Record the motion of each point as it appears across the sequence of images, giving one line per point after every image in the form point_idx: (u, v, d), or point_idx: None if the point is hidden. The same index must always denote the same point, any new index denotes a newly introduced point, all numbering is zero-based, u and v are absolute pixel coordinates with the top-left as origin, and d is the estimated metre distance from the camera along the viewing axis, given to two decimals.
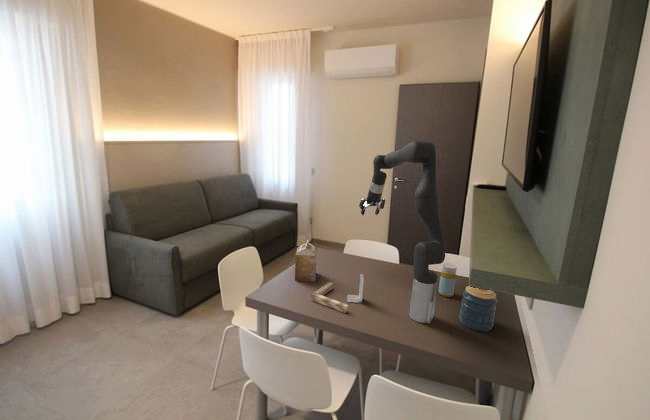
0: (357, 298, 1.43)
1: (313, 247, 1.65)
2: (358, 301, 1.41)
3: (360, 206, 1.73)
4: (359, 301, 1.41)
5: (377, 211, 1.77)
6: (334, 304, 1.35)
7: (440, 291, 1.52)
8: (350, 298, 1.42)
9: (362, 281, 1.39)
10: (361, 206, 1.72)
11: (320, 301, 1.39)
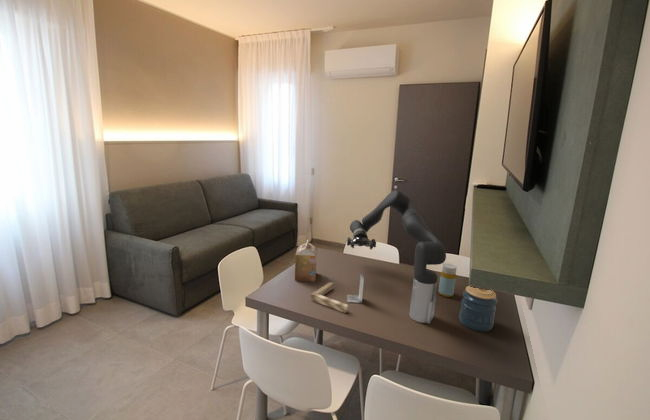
0: (357, 298, 1.43)
1: (313, 247, 1.65)
2: (358, 301, 1.41)
3: None
4: (359, 301, 1.41)
5: (370, 243, 1.52)
6: (334, 304, 1.35)
7: (440, 291, 1.52)
8: (350, 298, 1.42)
9: (362, 281, 1.39)
10: (348, 239, 1.56)
11: (320, 301, 1.39)
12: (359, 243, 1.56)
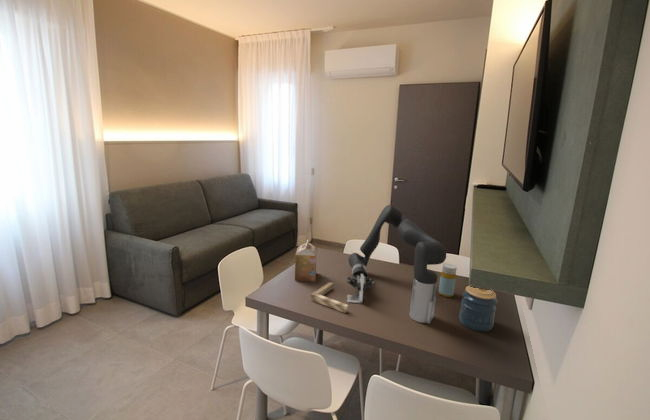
0: (357, 298, 1.43)
1: (313, 247, 1.65)
2: (358, 301, 1.41)
3: None
4: (359, 301, 1.41)
5: None
6: (334, 304, 1.35)
7: (440, 291, 1.52)
8: (350, 298, 1.42)
9: (362, 281, 1.39)
10: (352, 280, 1.45)
11: (320, 301, 1.39)
12: None
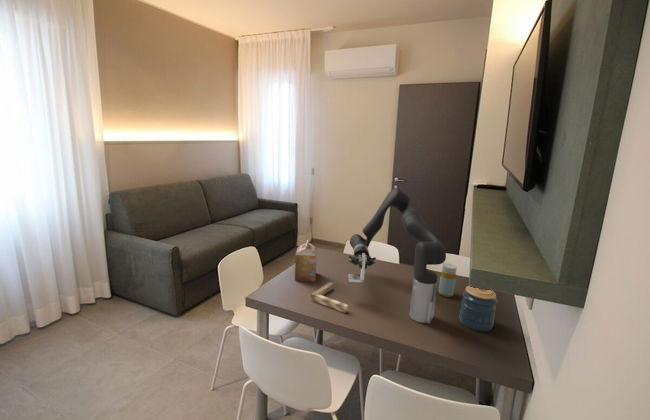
0: (359, 277, 1.40)
1: (313, 247, 1.65)
2: (360, 280, 1.38)
3: (355, 261, 1.42)
4: (361, 280, 1.38)
5: None
6: (334, 304, 1.35)
7: (440, 291, 1.52)
8: (351, 277, 1.40)
9: (364, 260, 1.36)
10: (354, 259, 1.42)
11: (320, 301, 1.39)
12: None
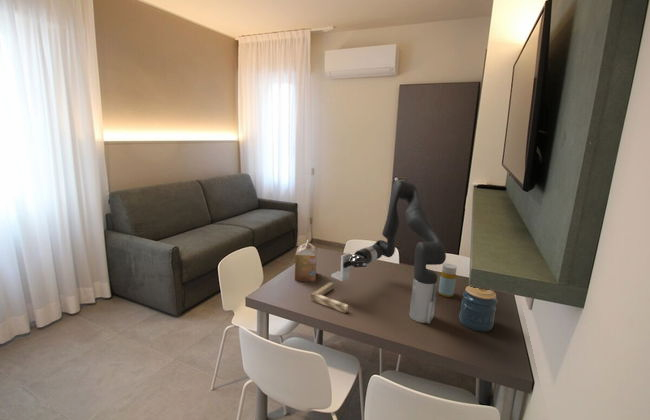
0: None
1: (313, 247, 1.65)
2: (339, 278, 1.40)
3: None
4: (340, 279, 1.39)
5: None
6: (334, 304, 1.35)
7: (440, 291, 1.52)
8: (335, 274, 1.43)
9: (342, 259, 1.36)
10: None
11: (320, 301, 1.39)
12: None
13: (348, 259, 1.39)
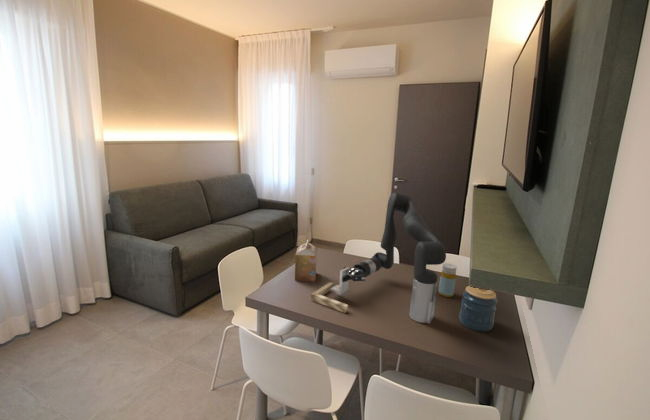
0: None
1: (313, 247, 1.65)
2: (338, 293, 1.41)
3: None
4: (339, 293, 1.41)
5: None
6: (334, 304, 1.35)
7: (440, 291, 1.52)
8: (334, 288, 1.44)
9: (341, 274, 1.38)
10: None
11: (320, 301, 1.39)
12: None
13: (347, 274, 1.41)
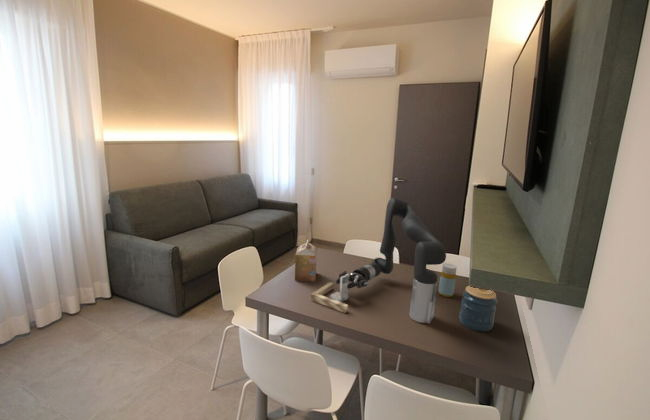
0: None
1: (313, 247, 1.65)
2: (338, 299, 1.42)
3: None
4: (339, 300, 1.41)
5: (351, 282, 1.40)
6: (334, 304, 1.35)
7: (440, 291, 1.52)
8: (334, 295, 1.45)
9: (341, 280, 1.39)
10: None
11: (320, 301, 1.39)
12: (351, 280, 1.45)
13: (347, 281, 1.41)
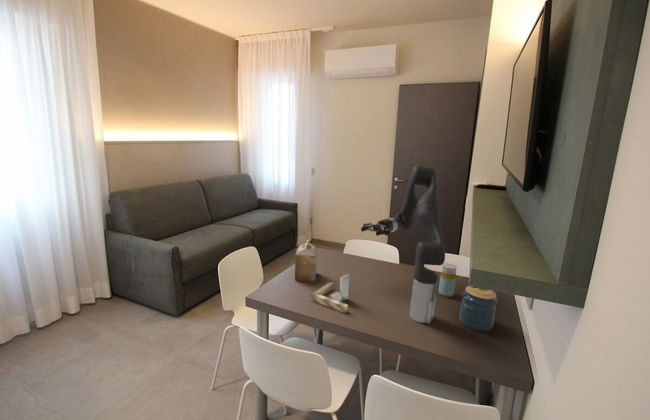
0: None
1: (313, 247, 1.65)
2: (338, 299, 1.42)
3: (364, 226, 1.57)
4: (339, 300, 1.41)
5: (379, 230, 1.47)
6: (334, 304, 1.35)
7: (440, 291, 1.52)
8: (334, 295, 1.45)
9: (341, 280, 1.39)
10: (365, 224, 1.57)
11: (320, 301, 1.39)
12: (374, 229, 1.53)
13: (347, 281, 1.41)
